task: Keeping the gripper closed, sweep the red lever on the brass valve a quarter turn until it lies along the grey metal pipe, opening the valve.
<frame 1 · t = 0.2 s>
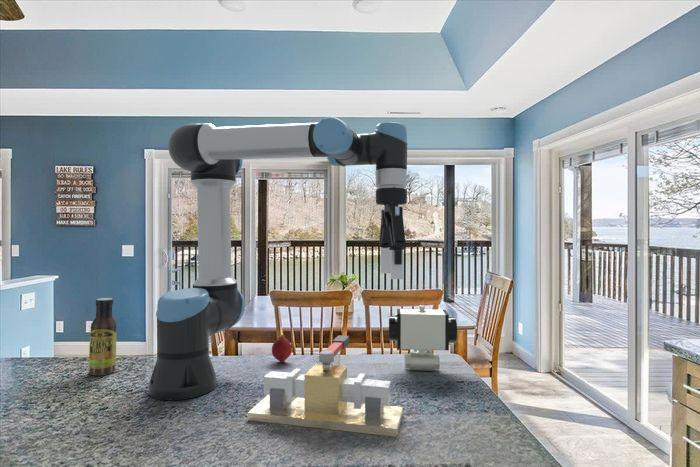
hand: (391, 276, 102), 27 cm above the kitchen island, fingers open, 13 cm apart
onion: (281, 362, 122), on the kitchen island
sauce bottle: (102, 373, 113), on the kitchen island
valve pipe: (326, 417, 86), on the kitchen island
lever: (334, 348, 92), point 12 cm above the kitchen island, hinge at 0.0°
ball valve: (421, 370, 116), on the kitchen island
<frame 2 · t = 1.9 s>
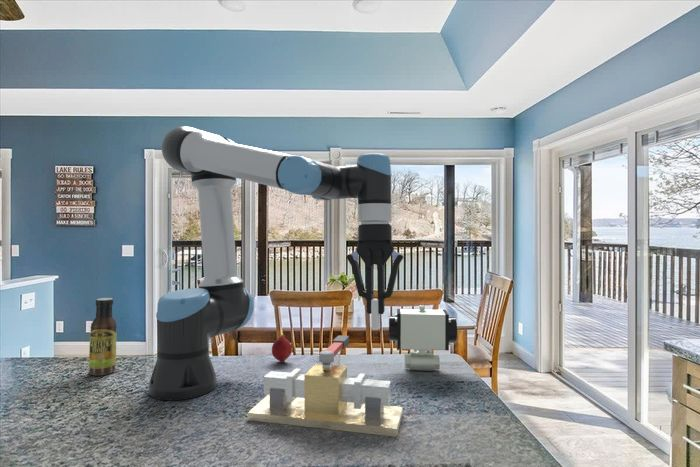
hand: (375, 328, 95), 16 cm above the kitchen island, fingers closed
nothing on the kitchen island moved.
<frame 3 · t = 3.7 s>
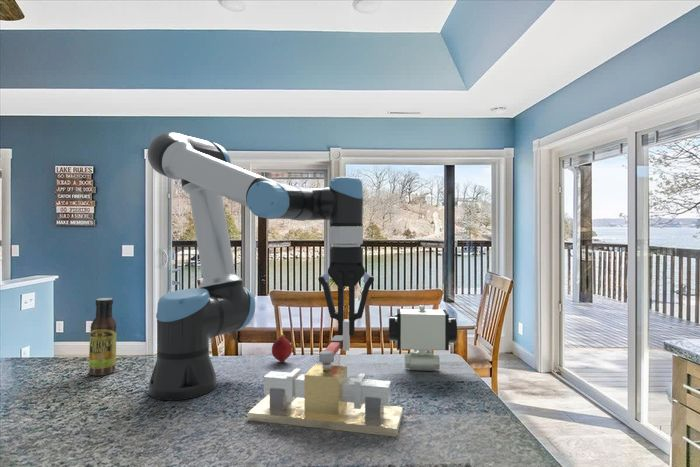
hand: (346, 348, 96), 11 cm above the kitchen island, fingers closed
lever: (333, 348, 92), point 12 cm above the kitchen island, hinge at 3.3°, touching gripper
everything else where it was.
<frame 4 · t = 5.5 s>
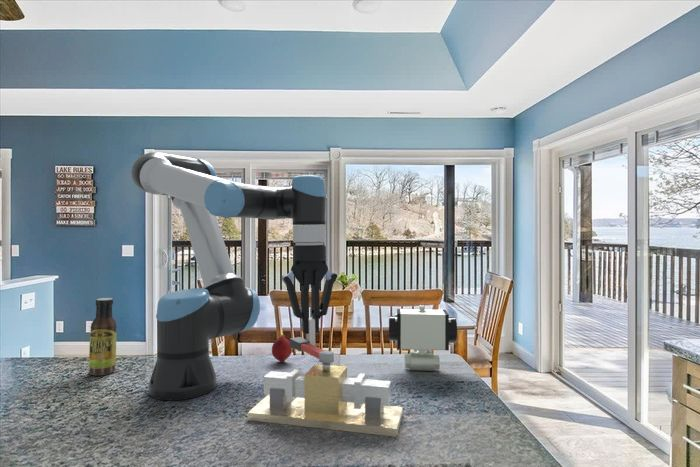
hand: (310, 347, 96), 12 cm above the kitchen island, fingers closed
lever: (311, 349, 91), point 12 cm above the kitchen island, hinge at 47.1°, touching gripper
everything else where it was.
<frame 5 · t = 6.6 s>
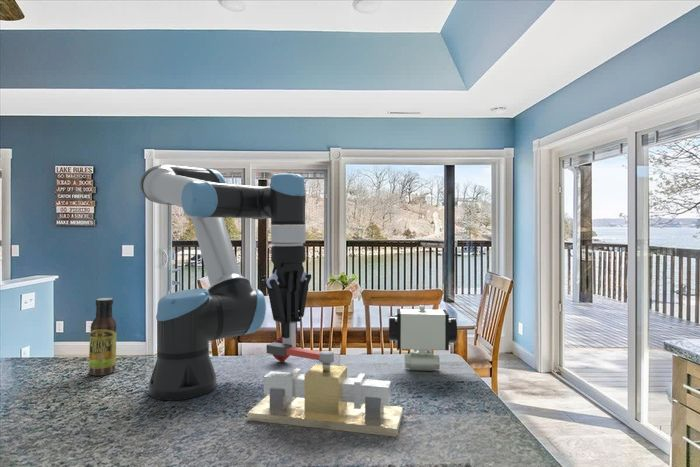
hand: (289, 351, 93), 11 cm above the kitchen island, fingers closed
lever: (300, 352, 89), point 12 cm above the kitchen island, hinge at 75.1°, touching gripper
everything else where it was.
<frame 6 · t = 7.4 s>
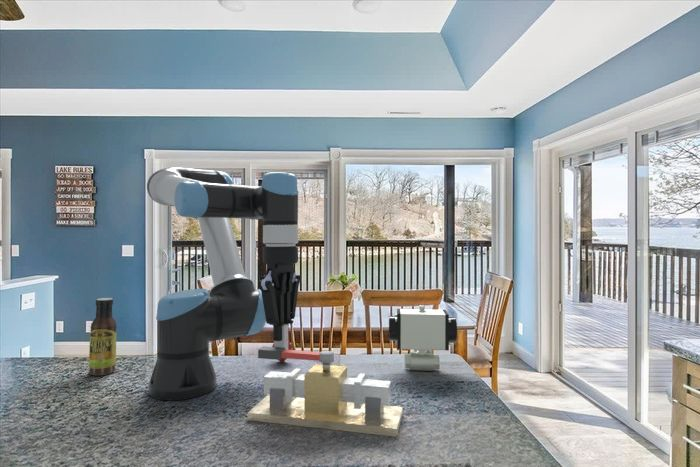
hand: (281, 354, 91), 11 cm above the kitchen island, fingers closed
lever: (296, 354, 88), point 12 cm above the kitchen island, hinge at 89.9°, touching gripper
everything else where it was.
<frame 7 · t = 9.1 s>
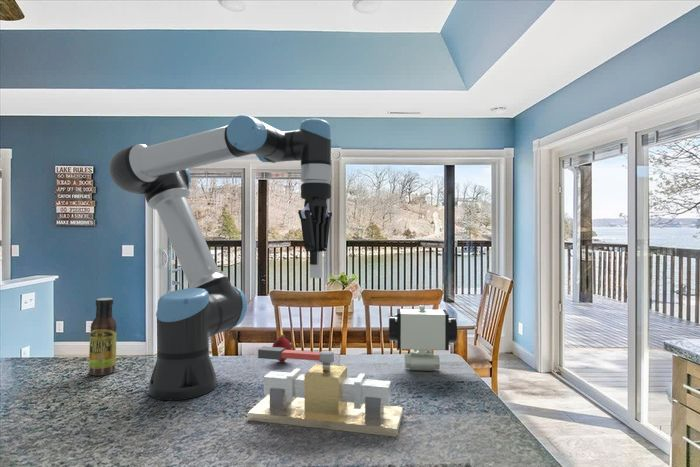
hand: (316, 277, 105), 26 cm above the kitchen island, fingers closed
lever: (296, 354, 88), point 12 cm above the kitchen island, hinge at 90.0°
everything else where it was.
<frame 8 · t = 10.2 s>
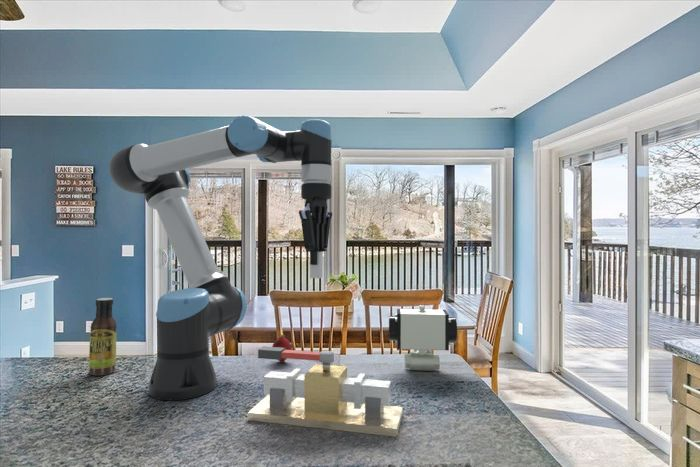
hand: (316, 277, 105), 26 cm above the kitchen island, fingers closed
nothing on the kitchen island moved.
at the end: lever at +90° (first picture: +0°) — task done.
